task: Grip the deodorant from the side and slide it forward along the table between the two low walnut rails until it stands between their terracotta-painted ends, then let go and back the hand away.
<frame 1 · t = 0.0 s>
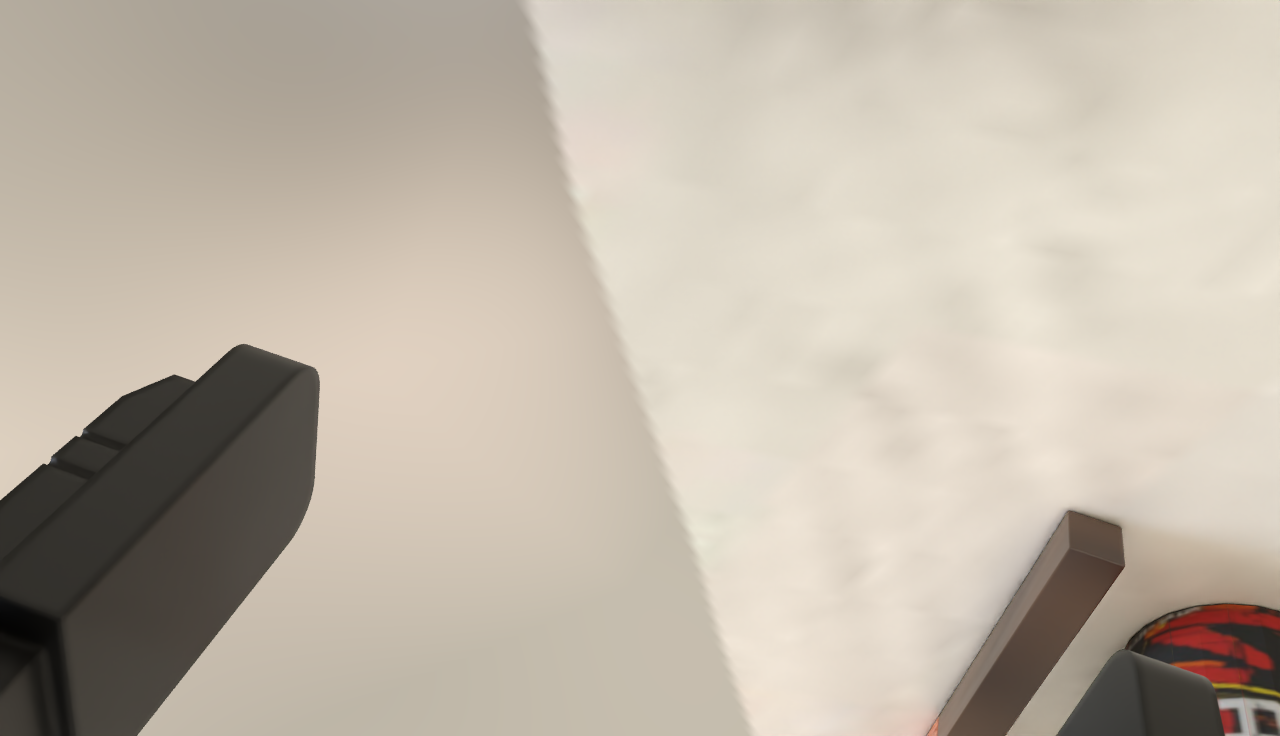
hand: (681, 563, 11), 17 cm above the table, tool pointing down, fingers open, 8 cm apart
deodorant: (1228, 671, 33), on the table
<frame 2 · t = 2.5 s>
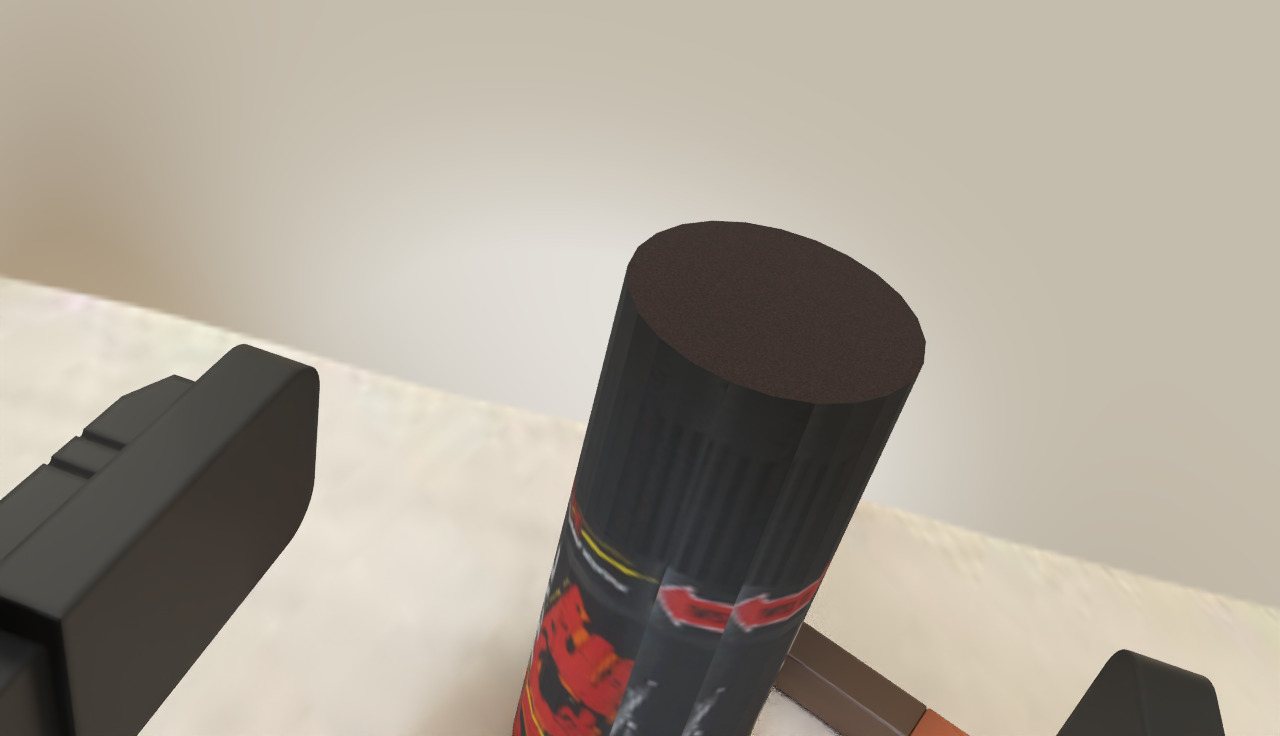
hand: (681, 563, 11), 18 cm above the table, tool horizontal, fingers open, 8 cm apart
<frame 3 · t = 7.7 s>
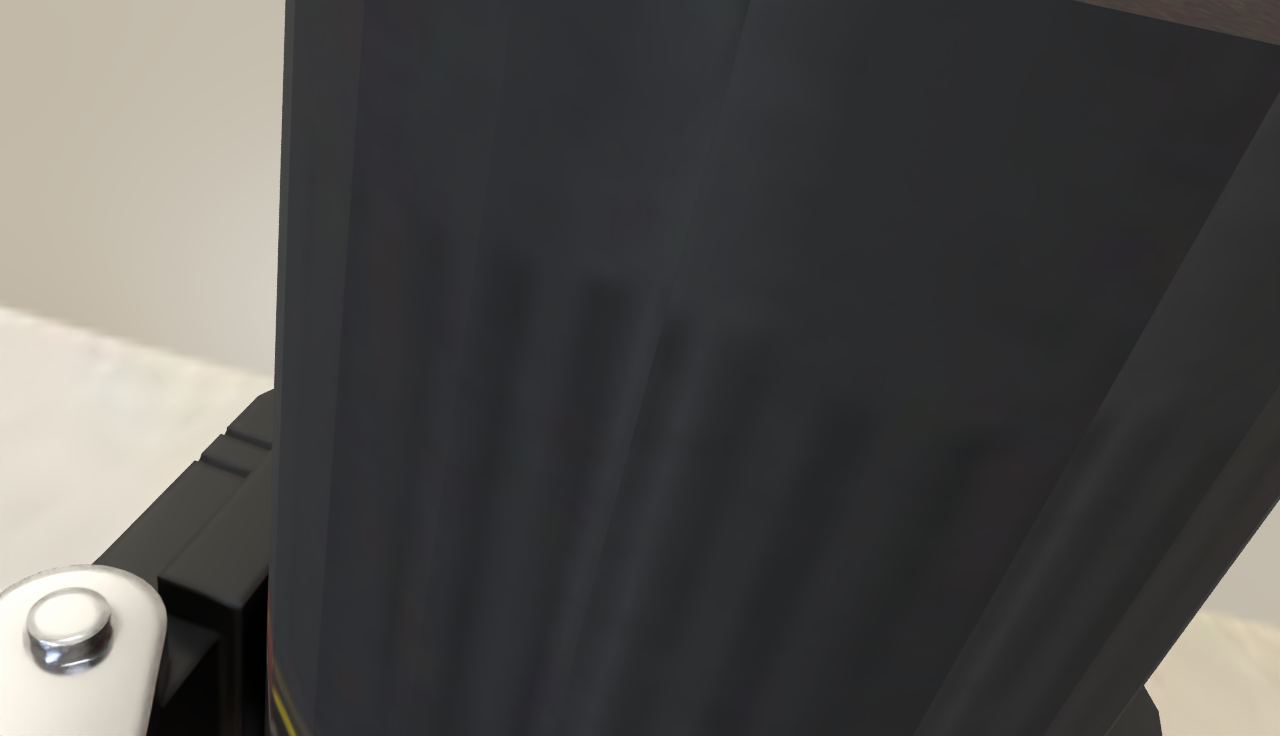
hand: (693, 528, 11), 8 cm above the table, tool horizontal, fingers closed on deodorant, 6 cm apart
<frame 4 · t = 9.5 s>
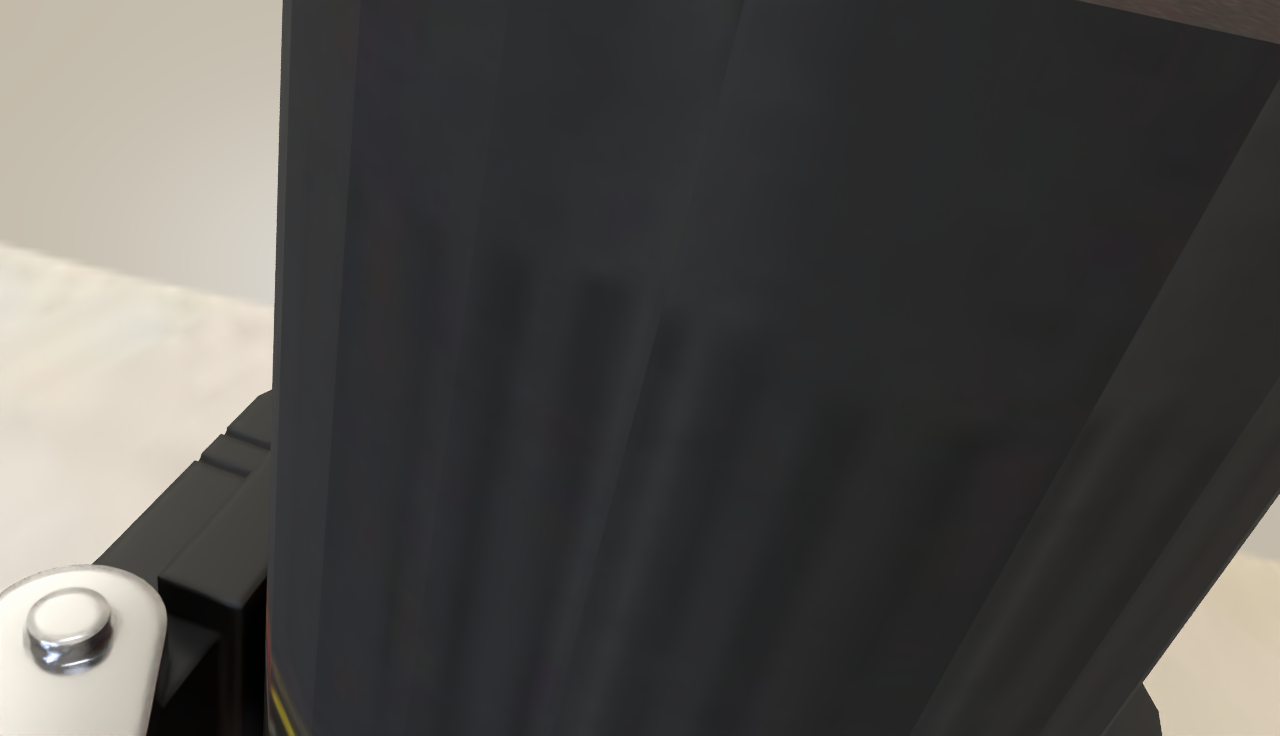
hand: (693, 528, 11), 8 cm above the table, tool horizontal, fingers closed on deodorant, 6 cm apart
when the fingers open (8 cm above the table, at t = 11.6 s): deodorant stays where it is, on the table.
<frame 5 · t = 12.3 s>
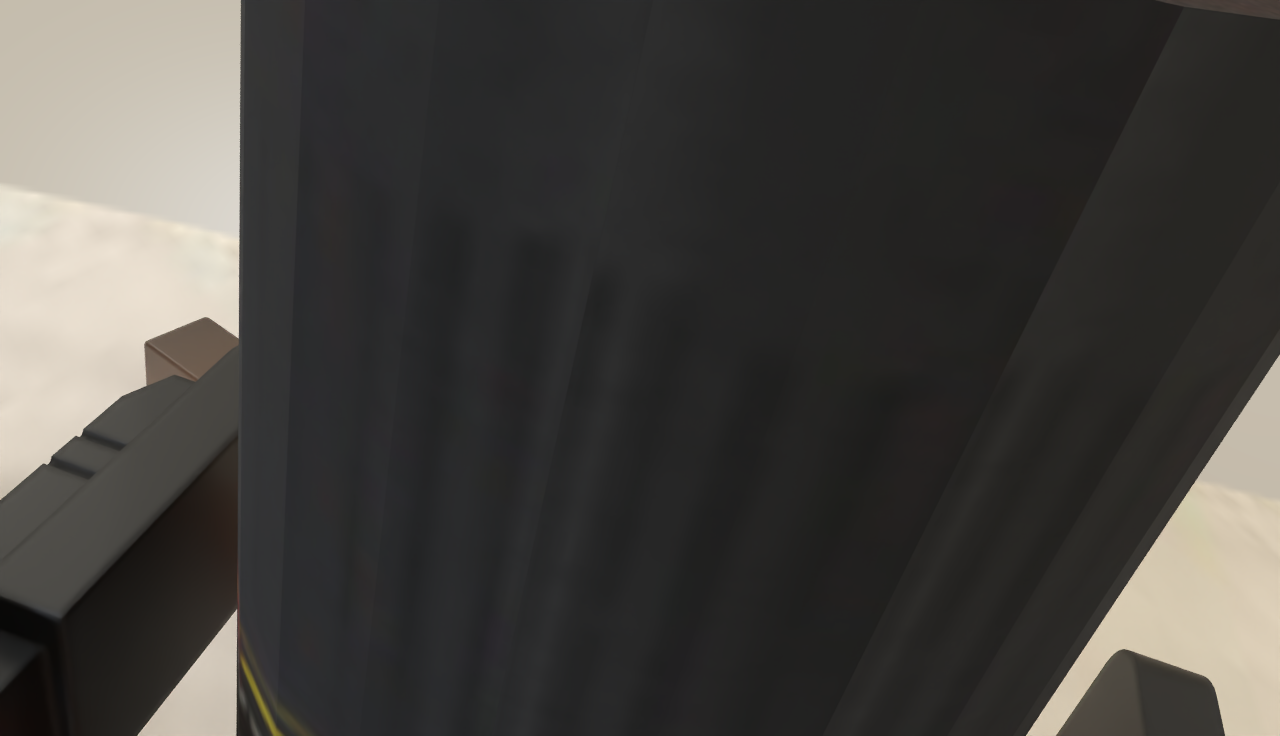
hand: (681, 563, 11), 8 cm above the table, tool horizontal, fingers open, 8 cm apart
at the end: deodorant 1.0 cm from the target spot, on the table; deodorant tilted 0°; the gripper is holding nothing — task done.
